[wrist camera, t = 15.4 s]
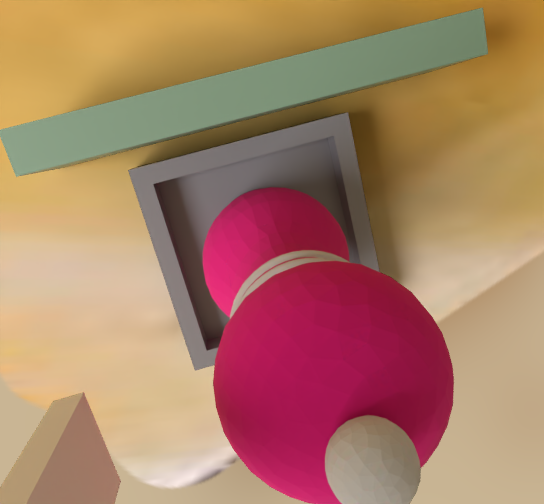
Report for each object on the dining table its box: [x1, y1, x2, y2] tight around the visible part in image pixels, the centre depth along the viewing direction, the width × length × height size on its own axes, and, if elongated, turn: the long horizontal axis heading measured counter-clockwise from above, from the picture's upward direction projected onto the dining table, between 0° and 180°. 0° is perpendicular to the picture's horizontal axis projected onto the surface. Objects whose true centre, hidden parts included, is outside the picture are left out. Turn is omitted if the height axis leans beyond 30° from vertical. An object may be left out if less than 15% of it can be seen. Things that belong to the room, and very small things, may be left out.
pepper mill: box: [203, 187, 454, 504], centre depth 17 cm, size 7×7×20 cm
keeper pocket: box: [128, 112, 380, 370], centre depth 27 cm, size 12×12×2 cm
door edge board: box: [0, 8, 488, 177], centre depth 23 cm, size 22×2×6 cm, turn 104°
